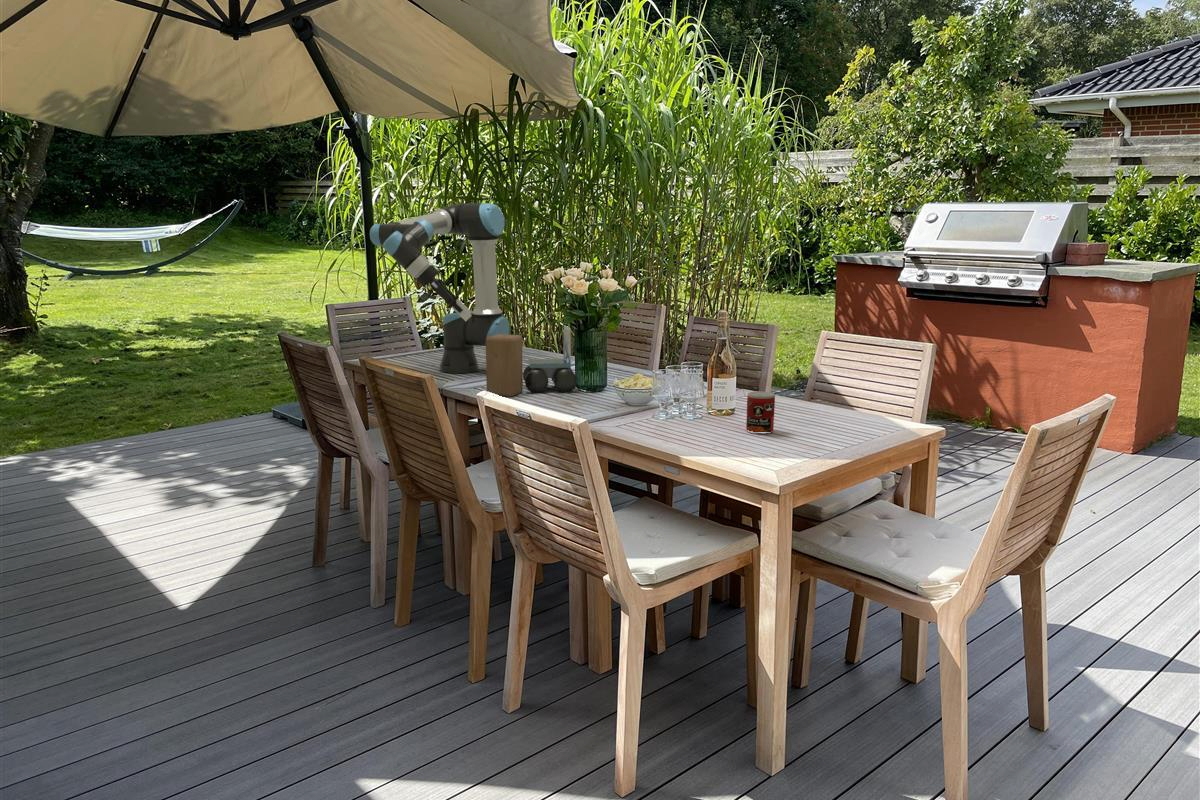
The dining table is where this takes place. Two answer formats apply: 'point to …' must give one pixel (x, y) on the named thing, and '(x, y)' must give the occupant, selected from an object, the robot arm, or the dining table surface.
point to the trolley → (552, 370)
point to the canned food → (760, 411)
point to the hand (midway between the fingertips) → (468, 316)
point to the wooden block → (504, 364)
